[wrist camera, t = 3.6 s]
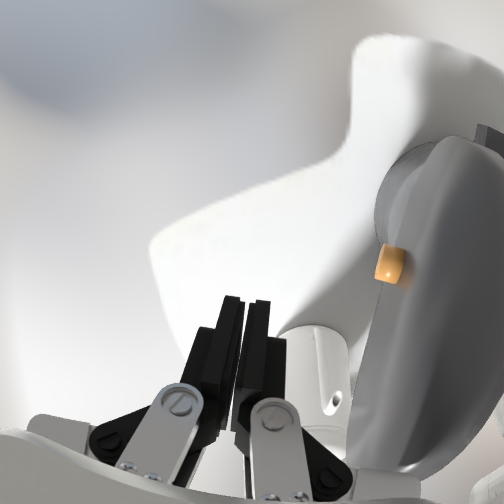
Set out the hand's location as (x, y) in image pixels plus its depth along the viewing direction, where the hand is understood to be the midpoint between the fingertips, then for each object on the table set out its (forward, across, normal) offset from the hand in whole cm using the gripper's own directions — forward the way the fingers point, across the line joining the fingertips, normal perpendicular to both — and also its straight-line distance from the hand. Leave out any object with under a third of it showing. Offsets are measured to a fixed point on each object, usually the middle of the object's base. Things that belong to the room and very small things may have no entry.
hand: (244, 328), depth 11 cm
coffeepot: (+21, -8, +22) cm, 32 cm away
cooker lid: (+2, -9, 0) cm, 9 cm away
